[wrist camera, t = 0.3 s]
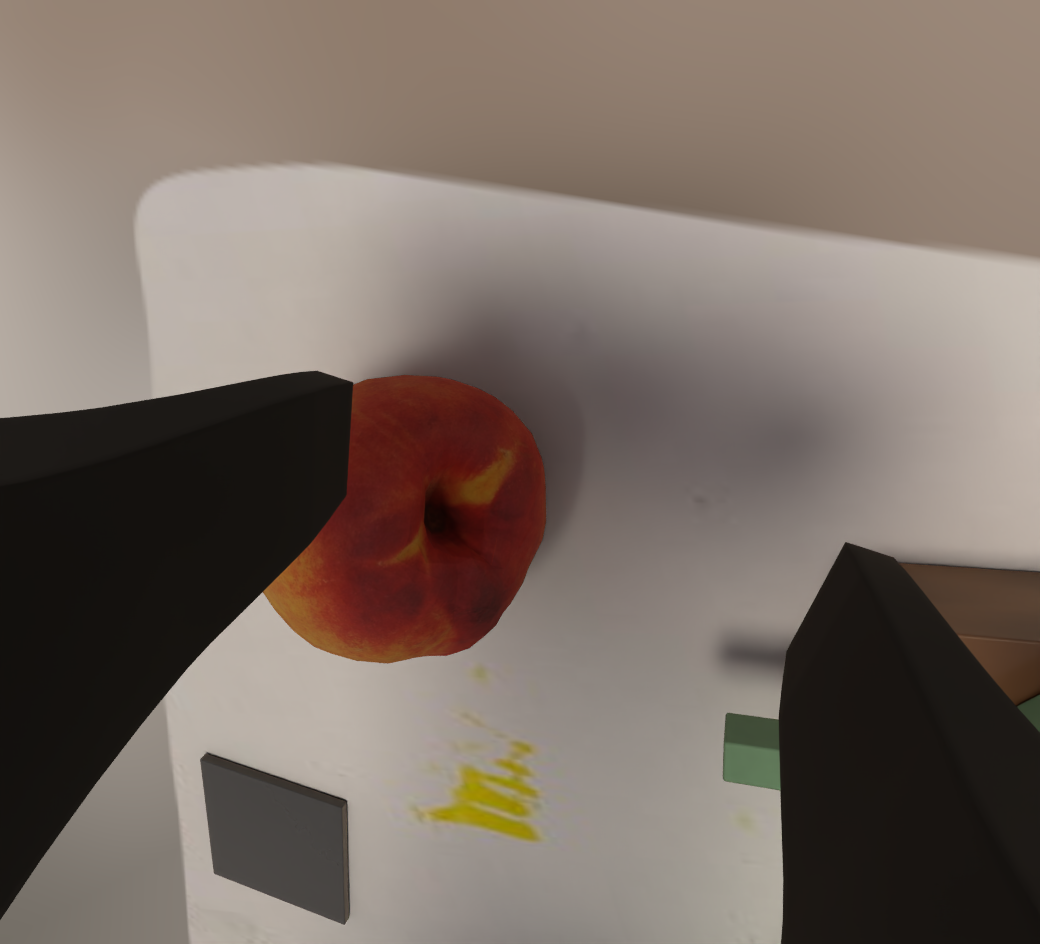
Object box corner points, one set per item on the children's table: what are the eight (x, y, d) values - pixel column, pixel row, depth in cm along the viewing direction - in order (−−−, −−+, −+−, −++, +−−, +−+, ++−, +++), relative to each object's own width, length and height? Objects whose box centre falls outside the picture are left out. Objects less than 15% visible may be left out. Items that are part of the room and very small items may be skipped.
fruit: (576, 598, 23) (491, 778, 16) (354, 569, 25) (191, 713, 18) (576, 353, 20) (472, 435, 13) (326, 346, 22) (122, 412, 15)
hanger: (1329, 696, 14) (1376, 737, 13) (1251, 912, 16) (1287, 963, 15) (728, 634, 18) (725, 661, 16) (723, 817, 19) (721, 852, 18)
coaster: (349, 917, 32) (344, 925, 32) (219, 866, 34) (213, 873, 33) (347, 800, 29) (341, 808, 29) (206, 753, 31) (199, 759, 31)
